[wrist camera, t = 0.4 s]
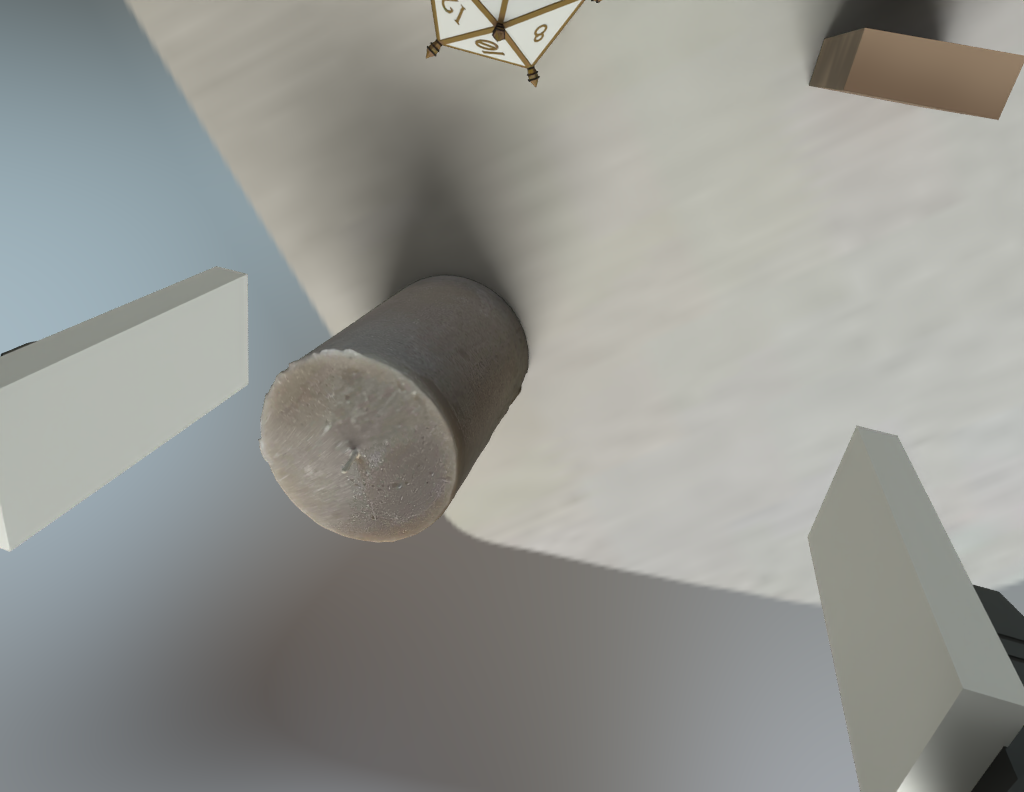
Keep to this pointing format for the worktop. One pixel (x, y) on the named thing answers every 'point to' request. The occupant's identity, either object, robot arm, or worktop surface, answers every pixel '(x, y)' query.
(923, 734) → the robot arm
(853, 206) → the worktop surface
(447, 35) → the game die
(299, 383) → the pillar candle
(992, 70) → the domino
